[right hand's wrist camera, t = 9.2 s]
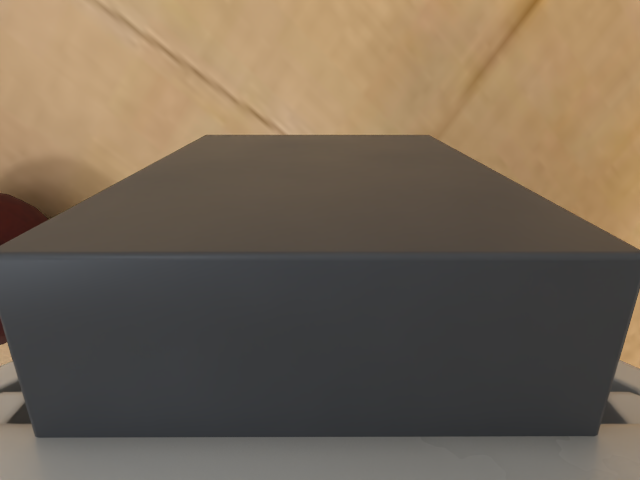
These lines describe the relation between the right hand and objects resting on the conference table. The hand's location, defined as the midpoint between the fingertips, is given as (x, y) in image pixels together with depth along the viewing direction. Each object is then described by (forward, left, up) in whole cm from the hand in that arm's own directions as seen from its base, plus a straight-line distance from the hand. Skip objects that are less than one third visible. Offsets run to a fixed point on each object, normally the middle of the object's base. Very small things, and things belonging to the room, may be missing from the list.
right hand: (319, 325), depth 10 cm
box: (+9, +1, -4) cm, 10 cm away
